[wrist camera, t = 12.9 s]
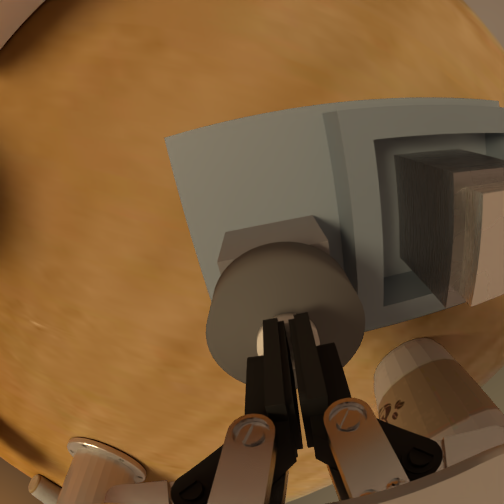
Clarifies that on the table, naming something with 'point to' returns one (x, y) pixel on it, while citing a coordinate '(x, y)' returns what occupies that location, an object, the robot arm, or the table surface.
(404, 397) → the coffee cup
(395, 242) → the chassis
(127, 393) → the table surface
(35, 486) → the ceramic mug
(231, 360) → the round knob on base
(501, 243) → the beige block
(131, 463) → the robot arm
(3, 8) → the beige beam
